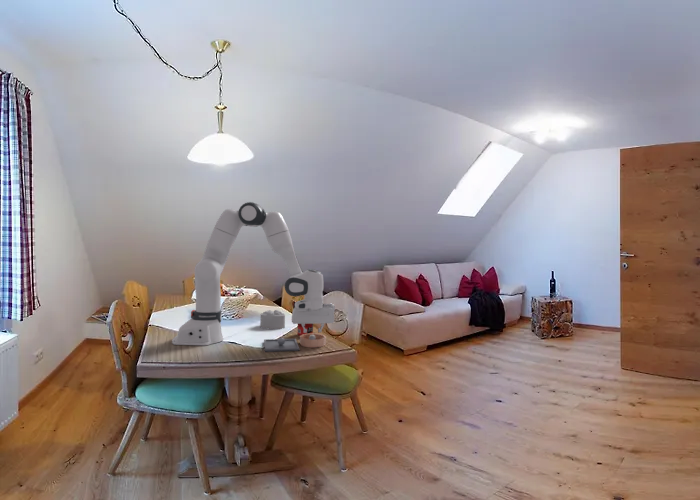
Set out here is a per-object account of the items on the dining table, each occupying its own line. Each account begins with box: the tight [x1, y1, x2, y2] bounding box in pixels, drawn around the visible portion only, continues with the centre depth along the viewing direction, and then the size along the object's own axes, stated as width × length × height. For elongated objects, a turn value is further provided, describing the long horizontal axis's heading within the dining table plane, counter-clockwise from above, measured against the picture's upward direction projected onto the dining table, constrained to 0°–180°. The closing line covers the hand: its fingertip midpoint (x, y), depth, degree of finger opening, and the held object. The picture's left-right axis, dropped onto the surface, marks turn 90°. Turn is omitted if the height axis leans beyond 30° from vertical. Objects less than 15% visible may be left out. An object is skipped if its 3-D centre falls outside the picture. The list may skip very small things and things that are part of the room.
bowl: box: [299, 332, 327, 349], centre depth 196 cm, size 12×12×4 cm
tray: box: [263, 338, 300, 353], centre depth 190 cm, size 15×16×1 cm
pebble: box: [277, 337, 286, 345], centre depth 190 cm, size 3×3×3 cm
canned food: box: [297, 324, 314, 337], centre depth 212 cm, size 8×8×11 cm
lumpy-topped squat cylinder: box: [259, 309, 286, 330], centre depth 227 cm, size 10×13×9 cm
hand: (312, 332), depth 198 cm, fingers open, 5 cm apart
